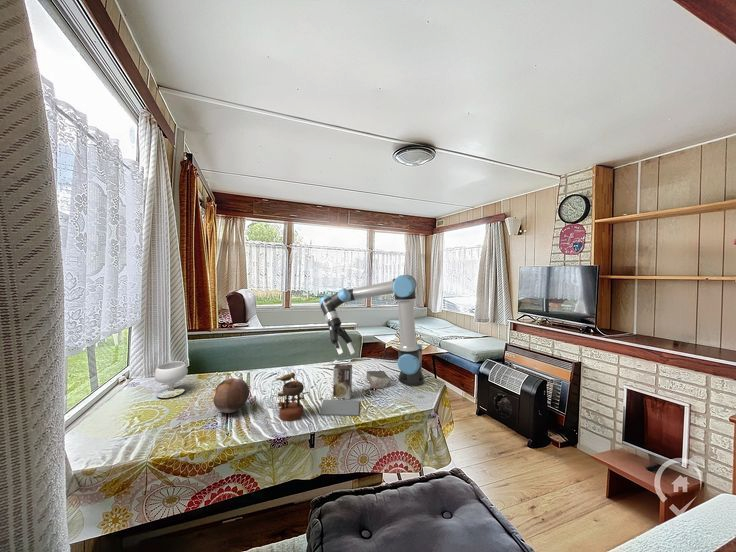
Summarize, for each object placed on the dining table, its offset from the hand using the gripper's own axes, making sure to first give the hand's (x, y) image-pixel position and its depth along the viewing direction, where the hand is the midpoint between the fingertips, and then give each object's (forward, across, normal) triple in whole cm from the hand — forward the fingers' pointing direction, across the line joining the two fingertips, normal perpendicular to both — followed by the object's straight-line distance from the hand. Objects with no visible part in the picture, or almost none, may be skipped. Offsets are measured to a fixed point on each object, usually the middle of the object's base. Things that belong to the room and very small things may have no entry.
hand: (347, 353), depth 154 cm
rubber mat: (+24, +14, -8) cm, 29 cm away
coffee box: (+19, +3, -11) cm, 22 cm away
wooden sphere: (+4, +40, -46) cm, 61 cm away
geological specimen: (+20, -21, 0) cm, 29 cm away
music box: (+18, +29, -23) cm, 41 cm away
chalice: (-19, +44, -79) cm, 92 cm away
